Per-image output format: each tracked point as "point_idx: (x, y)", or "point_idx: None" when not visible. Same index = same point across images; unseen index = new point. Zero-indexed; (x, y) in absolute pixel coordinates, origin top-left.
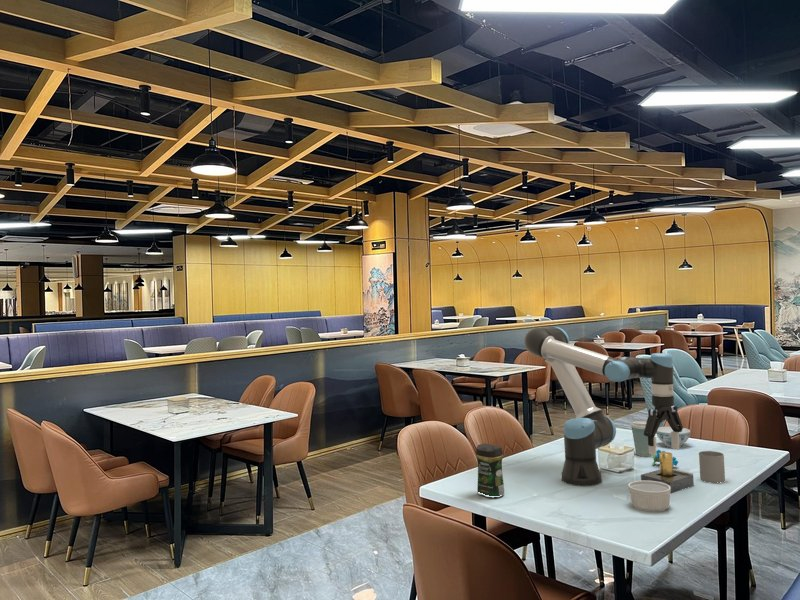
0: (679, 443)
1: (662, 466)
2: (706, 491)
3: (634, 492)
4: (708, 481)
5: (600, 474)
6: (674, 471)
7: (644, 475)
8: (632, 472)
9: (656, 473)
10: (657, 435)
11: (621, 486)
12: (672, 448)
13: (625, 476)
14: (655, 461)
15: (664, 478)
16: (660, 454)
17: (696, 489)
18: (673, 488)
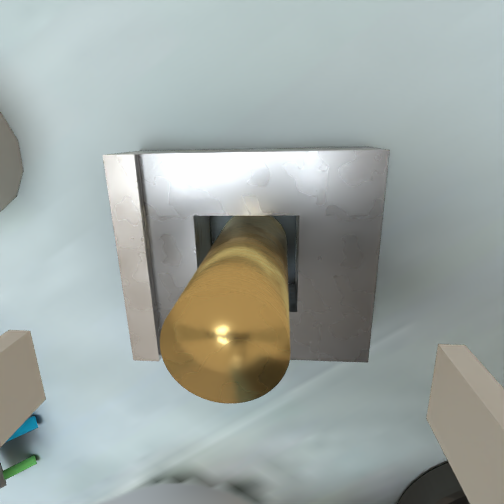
0: None
1: (288, 294)
2: (168, 31)
3: None
4: (12, 138)
5: (455, 502)
6: (151, 273)
7: (367, 340)
8: (198, 457)
9: None
10: None
11: None
12: (42, 389)
13: (277, 445)
14: (9, 469)
15: (335, 225)
16: (287, 366)
17: (182, 98)
18: (340, 148)
